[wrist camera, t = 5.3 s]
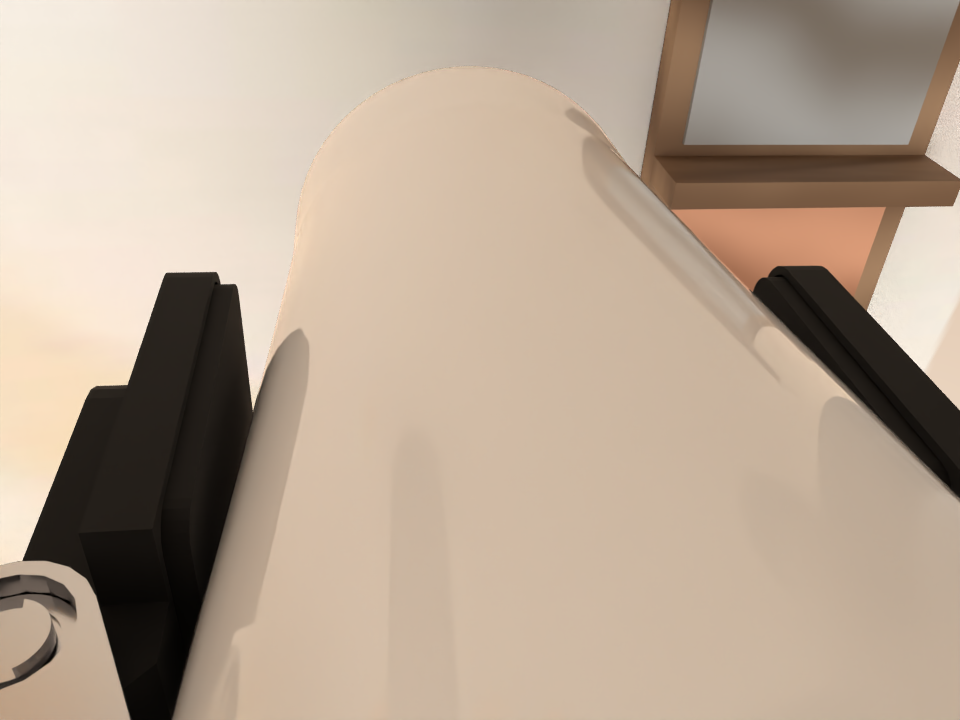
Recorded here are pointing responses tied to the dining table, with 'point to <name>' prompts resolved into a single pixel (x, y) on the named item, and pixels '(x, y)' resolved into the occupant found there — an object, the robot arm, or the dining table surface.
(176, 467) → the robot arm
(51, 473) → the dining table surface
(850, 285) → the slot rack
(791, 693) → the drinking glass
